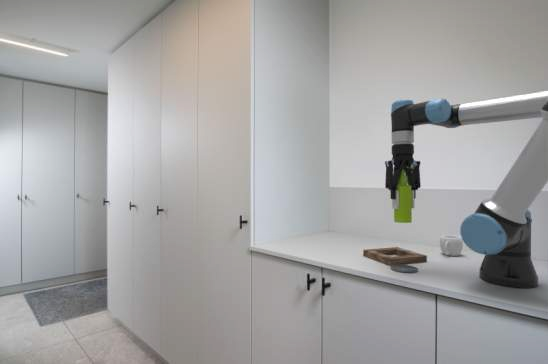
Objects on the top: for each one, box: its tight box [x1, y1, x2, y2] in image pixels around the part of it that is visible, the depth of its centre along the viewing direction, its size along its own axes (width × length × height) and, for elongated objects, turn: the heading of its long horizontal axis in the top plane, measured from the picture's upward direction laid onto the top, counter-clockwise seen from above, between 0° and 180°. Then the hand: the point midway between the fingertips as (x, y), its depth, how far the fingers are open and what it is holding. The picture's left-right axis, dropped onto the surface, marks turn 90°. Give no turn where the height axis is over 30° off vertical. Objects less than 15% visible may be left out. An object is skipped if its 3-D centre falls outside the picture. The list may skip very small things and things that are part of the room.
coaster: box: [390, 264, 419, 274], centre depth 116 cm, size 9×9×1 cm
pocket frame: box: [362, 246, 428, 267], centre depth 132 cm, size 17×17×2 cm
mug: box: [439, 234, 464, 257], centre depth 137 cm, size 12×8×8 cm
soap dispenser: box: [393, 166, 414, 224], centre depth 118 cm, size 6×7×20 cm
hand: (403, 208), depth 118 cm, fingers closed on soap dispenser, 6 cm apart
